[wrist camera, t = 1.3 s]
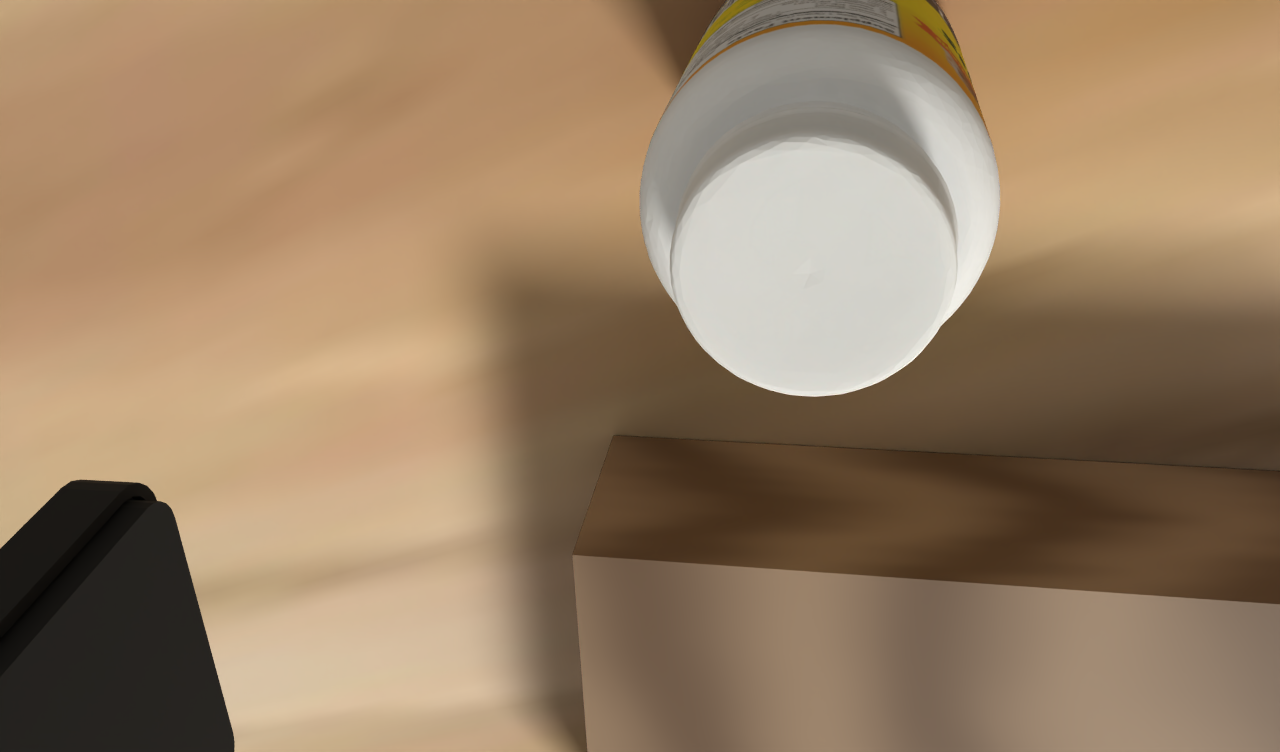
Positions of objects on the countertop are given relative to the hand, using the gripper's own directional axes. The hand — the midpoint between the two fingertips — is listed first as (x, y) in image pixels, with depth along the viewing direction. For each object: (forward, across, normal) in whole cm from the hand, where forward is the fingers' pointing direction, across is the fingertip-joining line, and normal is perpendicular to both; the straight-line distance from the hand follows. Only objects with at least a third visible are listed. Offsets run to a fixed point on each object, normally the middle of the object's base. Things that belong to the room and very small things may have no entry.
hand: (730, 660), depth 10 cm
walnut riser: (+18, -5, +16) cm, 25 cm away
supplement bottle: (+18, -1, 0) cm, 18 cm away
